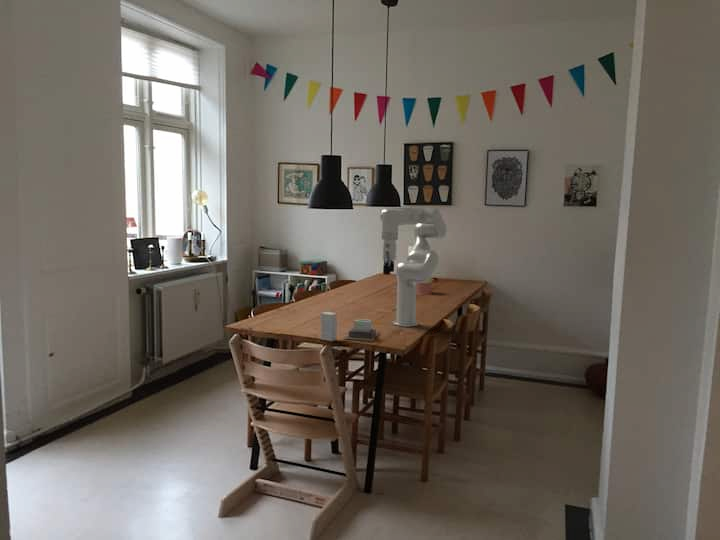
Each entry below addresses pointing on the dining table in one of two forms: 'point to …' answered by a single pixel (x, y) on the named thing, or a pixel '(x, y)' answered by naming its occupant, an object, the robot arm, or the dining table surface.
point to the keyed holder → (362, 335)
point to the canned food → (424, 287)
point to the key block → (362, 325)
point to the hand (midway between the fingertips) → (388, 273)
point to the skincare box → (329, 326)
